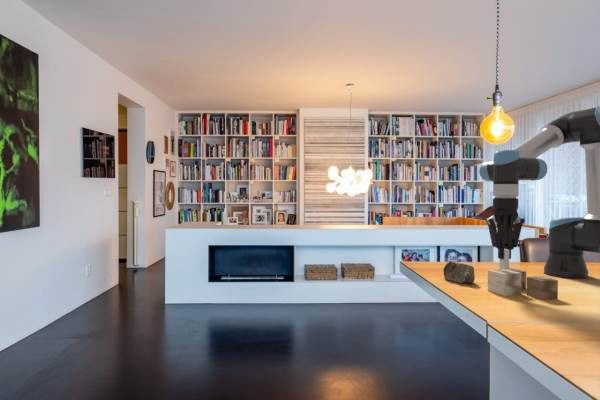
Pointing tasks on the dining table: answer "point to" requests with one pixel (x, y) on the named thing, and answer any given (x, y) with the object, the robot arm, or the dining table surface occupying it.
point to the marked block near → (523, 280)
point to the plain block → (504, 282)
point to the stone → (459, 272)
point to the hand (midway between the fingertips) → (504, 268)
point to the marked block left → (542, 288)
